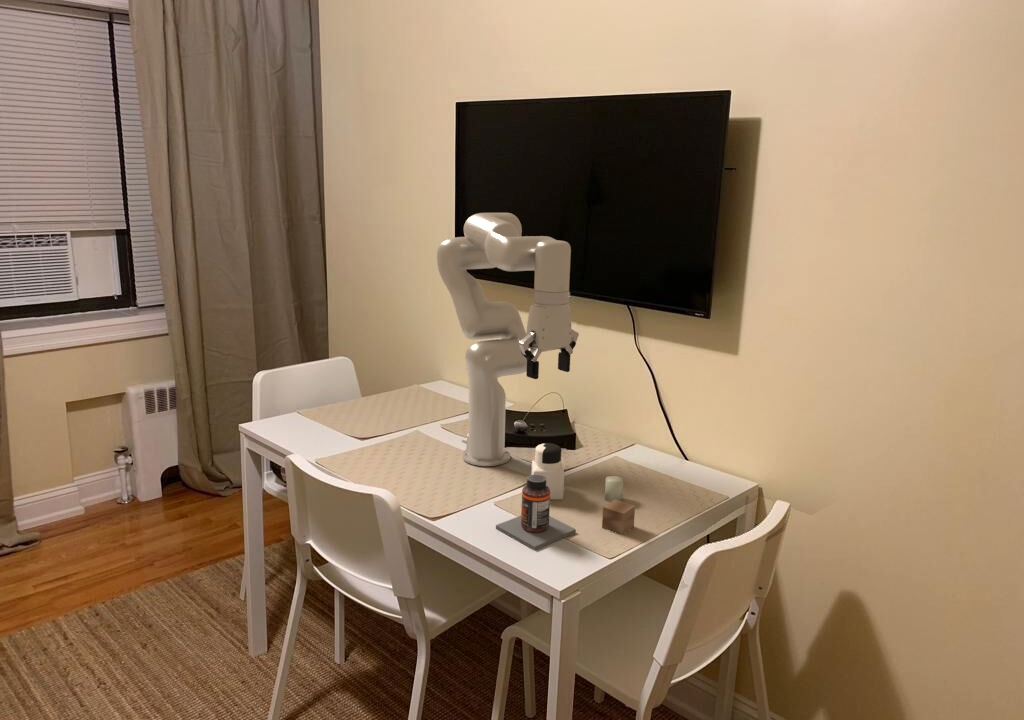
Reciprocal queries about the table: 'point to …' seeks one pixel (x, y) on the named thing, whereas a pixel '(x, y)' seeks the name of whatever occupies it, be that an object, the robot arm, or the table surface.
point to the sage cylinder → (613, 488)
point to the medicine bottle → (550, 468)
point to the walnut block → (618, 516)
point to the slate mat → (535, 539)
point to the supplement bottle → (535, 504)
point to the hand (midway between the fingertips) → (548, 374)
